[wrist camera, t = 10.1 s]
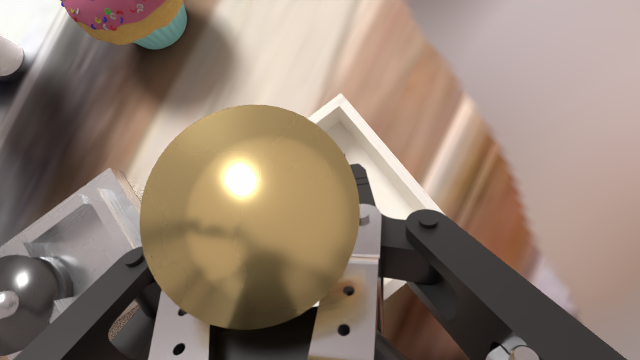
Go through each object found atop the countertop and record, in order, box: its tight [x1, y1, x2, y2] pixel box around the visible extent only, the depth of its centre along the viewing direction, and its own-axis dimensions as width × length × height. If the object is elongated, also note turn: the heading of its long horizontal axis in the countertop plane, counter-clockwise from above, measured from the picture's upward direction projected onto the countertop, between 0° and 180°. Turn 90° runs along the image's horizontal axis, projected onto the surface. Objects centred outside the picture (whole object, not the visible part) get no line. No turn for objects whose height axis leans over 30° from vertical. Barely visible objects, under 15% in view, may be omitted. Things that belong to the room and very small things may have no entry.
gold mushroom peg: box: [139, 105, 360, 330], centre depth 13 cm, size 5×5×13 cm
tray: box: [307, 93, 446, 307], centre depth 21 cm, size 13×11×4 cm
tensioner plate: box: [0, 167, 142, 360], centre depth 22 cm, size 12×9×3 cm
